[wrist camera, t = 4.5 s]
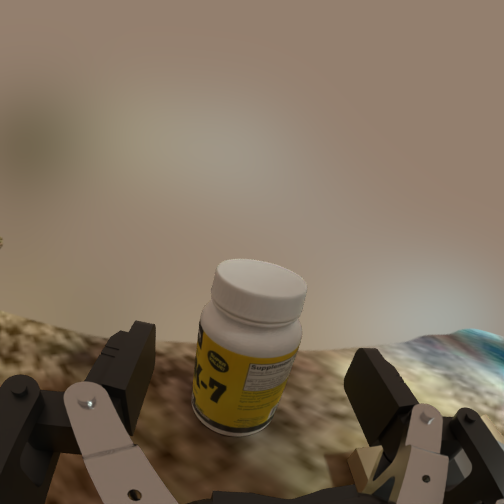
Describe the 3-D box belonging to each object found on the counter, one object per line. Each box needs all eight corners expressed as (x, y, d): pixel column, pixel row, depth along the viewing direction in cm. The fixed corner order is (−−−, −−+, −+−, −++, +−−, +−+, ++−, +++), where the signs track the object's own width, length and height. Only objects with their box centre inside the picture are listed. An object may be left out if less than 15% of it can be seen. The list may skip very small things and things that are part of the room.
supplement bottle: (180, 385, 15) (193, 253, 13) (250, 375, 18) (279, 255, 15) (208, 447, 11) (234, 304, 9) (288, 426, 14) (339, 296, 11)
